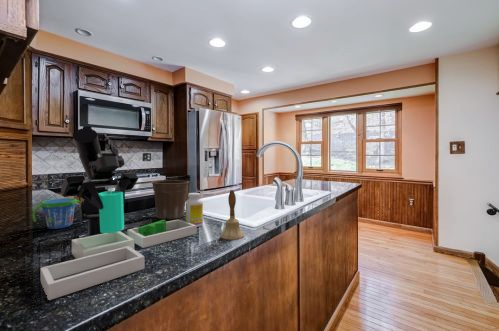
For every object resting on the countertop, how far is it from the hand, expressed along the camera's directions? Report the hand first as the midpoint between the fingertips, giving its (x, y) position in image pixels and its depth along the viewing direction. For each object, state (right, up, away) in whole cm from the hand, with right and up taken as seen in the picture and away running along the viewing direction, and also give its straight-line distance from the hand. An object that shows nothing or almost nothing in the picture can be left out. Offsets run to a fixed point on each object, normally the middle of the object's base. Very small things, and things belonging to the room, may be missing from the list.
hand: (113, 206), depth 66 cm
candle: (-1, -7, +1) cm, 7 cm away
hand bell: (+32, -13, +18) cm, 39 cm away
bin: (-3, -13, 0) cm, 13 cm away
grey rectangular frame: (+2, -14, -11) cm, 18 cm away
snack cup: (-35, -12, +26) cm, 45 cm away
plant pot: (+1, -12, +44) cm, 46 cm away
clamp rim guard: (+8, -13, +16) cm, 22 cm away
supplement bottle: (+16, -13, +30) cm, 36 cm away
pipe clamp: (+5, -13, +16) cm, 21 cm away
